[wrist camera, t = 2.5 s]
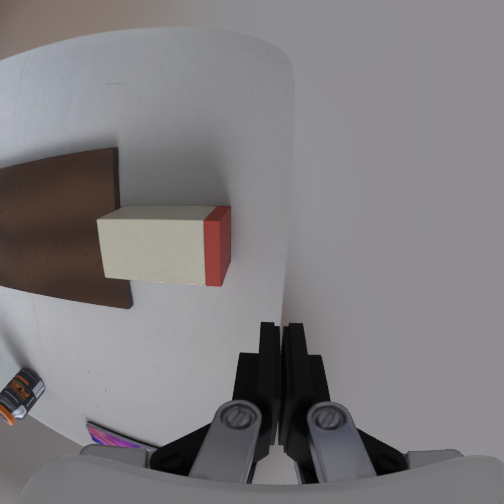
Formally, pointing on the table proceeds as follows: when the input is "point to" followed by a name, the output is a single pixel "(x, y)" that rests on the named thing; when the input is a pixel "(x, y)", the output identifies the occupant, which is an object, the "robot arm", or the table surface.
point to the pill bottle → (20, 395)
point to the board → (60, 227)
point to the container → (167, 244)
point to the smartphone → (113, 438)
